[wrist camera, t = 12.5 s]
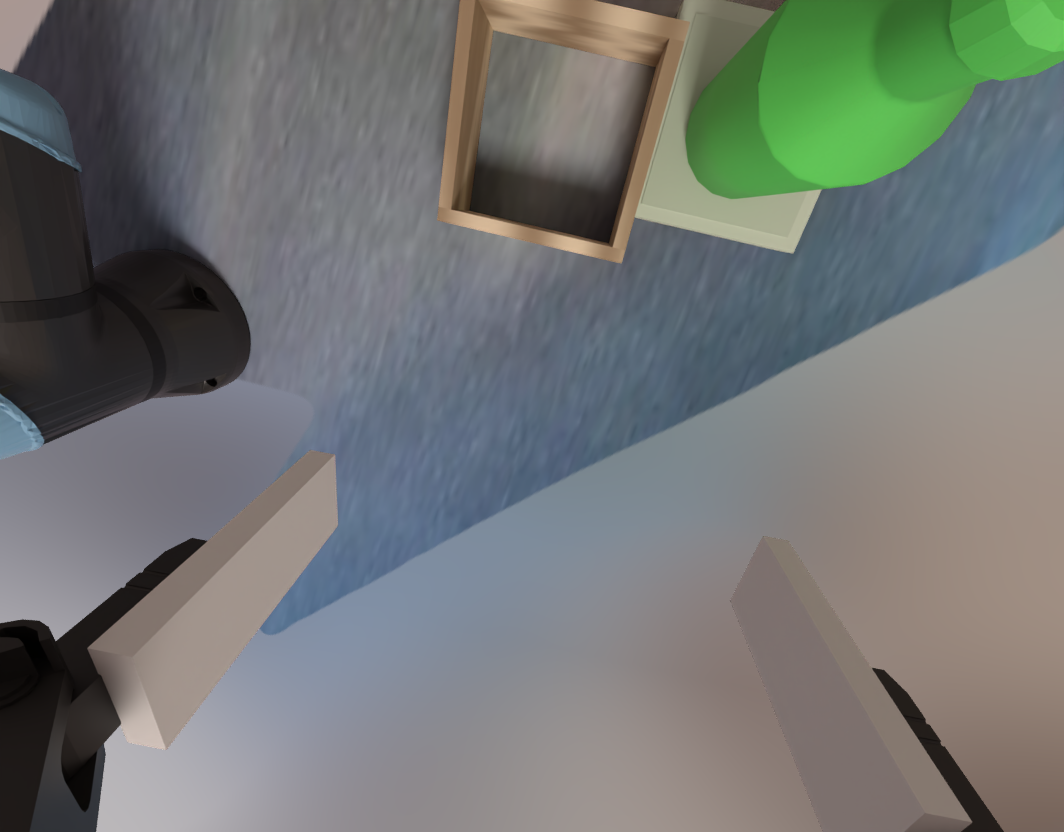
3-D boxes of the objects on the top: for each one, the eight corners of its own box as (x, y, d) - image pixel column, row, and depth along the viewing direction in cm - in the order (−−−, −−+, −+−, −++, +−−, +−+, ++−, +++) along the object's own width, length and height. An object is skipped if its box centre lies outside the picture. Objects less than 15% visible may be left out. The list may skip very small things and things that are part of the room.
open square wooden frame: (457, 220, 40) (437, 220, 34) (482, 10, 33) (463, -30, 28) (616, 257, 40) (621, 263, 34) (673, 54, 33) (690, 21, 28)
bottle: (763, 26, 29) (1347, -599, 7) (833, 131, 31) (1467, -90, 9) (658, 136, 33) (822, -45, 10) (728, 225, 35) (994, 239, 12)
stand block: (622, 214, 38) (625, 214, 35) (678, 10, 32) (687, -10, 29) (778, 250, 38) (793, 253, 35) (863, 52, 32) (891, 36, 29)
